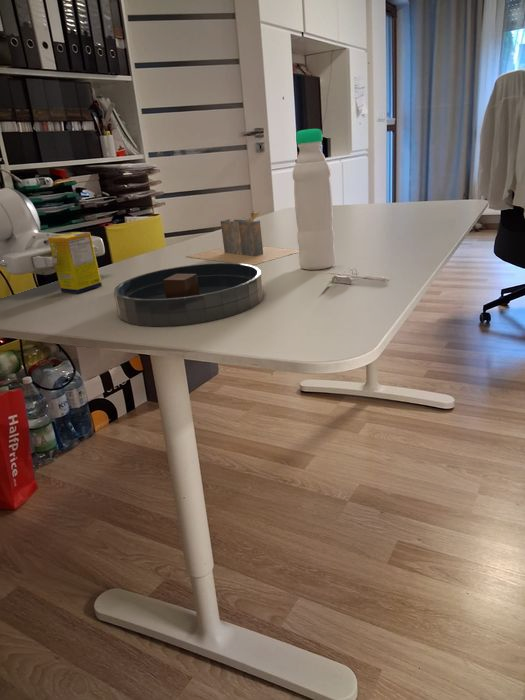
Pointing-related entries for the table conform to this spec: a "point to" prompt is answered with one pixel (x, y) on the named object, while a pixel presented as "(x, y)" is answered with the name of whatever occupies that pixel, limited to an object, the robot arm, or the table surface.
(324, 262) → the water bottle
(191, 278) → the block
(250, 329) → the table surface
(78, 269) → the supplement box
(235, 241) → the architectural model on board
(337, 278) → the picture light
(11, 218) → the robot arm
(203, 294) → the bowl
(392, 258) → the table surface
